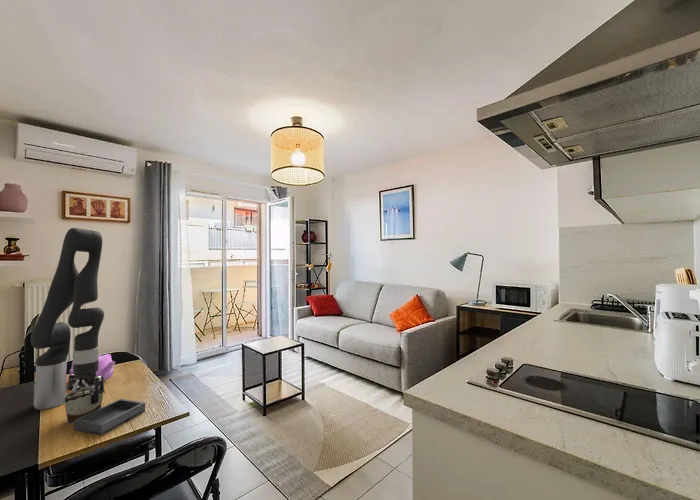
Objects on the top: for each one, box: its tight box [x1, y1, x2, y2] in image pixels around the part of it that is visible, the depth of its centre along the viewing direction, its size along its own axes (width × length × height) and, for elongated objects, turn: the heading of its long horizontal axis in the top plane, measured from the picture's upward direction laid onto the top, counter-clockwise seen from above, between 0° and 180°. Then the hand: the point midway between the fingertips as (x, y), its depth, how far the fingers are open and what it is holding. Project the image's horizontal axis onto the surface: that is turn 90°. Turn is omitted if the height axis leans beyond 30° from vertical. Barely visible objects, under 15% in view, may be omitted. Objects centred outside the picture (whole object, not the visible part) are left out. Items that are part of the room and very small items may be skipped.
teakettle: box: [69, 353, 116, 386], centre depth 152 cm, size 17×17×12 cm
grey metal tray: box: [73, 398, 146, 436], centre depth 116 cm, size 12×17×4 cm
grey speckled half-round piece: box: [62, 386, 106, 426], centre depth 118 cm, size 12×6×10 cm, turn 141°
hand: (85, 402), depth 119 cm, fingers open, 8 cm apart
